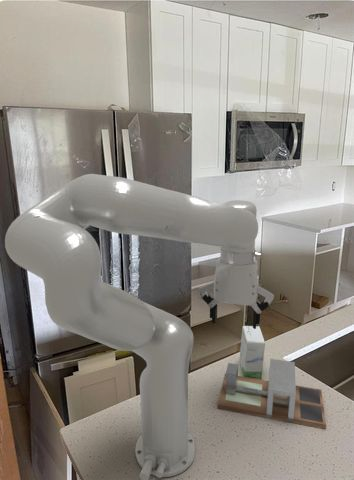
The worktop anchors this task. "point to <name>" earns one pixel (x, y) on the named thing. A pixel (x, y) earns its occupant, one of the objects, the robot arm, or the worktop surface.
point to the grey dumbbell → (232, 388)
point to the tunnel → (282, 384)
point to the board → (305, 409)
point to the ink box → (252, 352)
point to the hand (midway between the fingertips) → (234, 323)
